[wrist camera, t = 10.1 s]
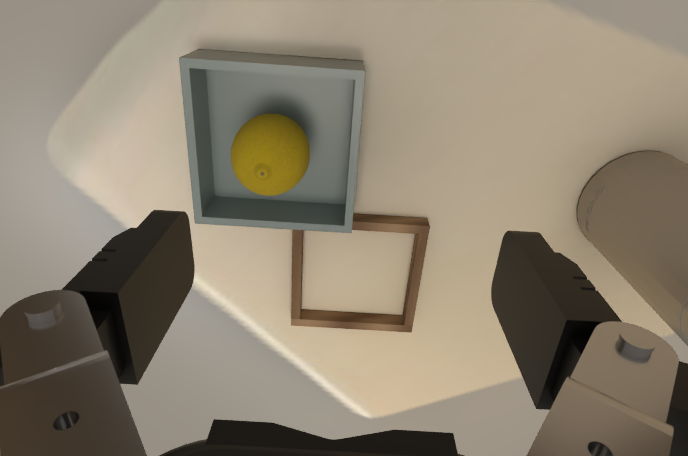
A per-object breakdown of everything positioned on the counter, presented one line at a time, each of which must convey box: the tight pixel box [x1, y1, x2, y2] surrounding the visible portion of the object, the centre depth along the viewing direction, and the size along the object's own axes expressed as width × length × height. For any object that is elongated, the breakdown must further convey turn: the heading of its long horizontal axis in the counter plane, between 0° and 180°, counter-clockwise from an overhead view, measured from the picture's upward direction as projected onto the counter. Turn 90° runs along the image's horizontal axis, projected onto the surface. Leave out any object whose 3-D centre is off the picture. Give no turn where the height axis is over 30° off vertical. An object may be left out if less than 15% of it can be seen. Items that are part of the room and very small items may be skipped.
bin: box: [179, 49, 365, 233], centre depth 35 cm, size 12×12×4 cm
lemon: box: [231, 113, 310, 196], centre depth 33 cm, size 6×6×8 cm
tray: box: [291, 214, 430, 332], centre depth 42 cm, size 12×12×2 cm
